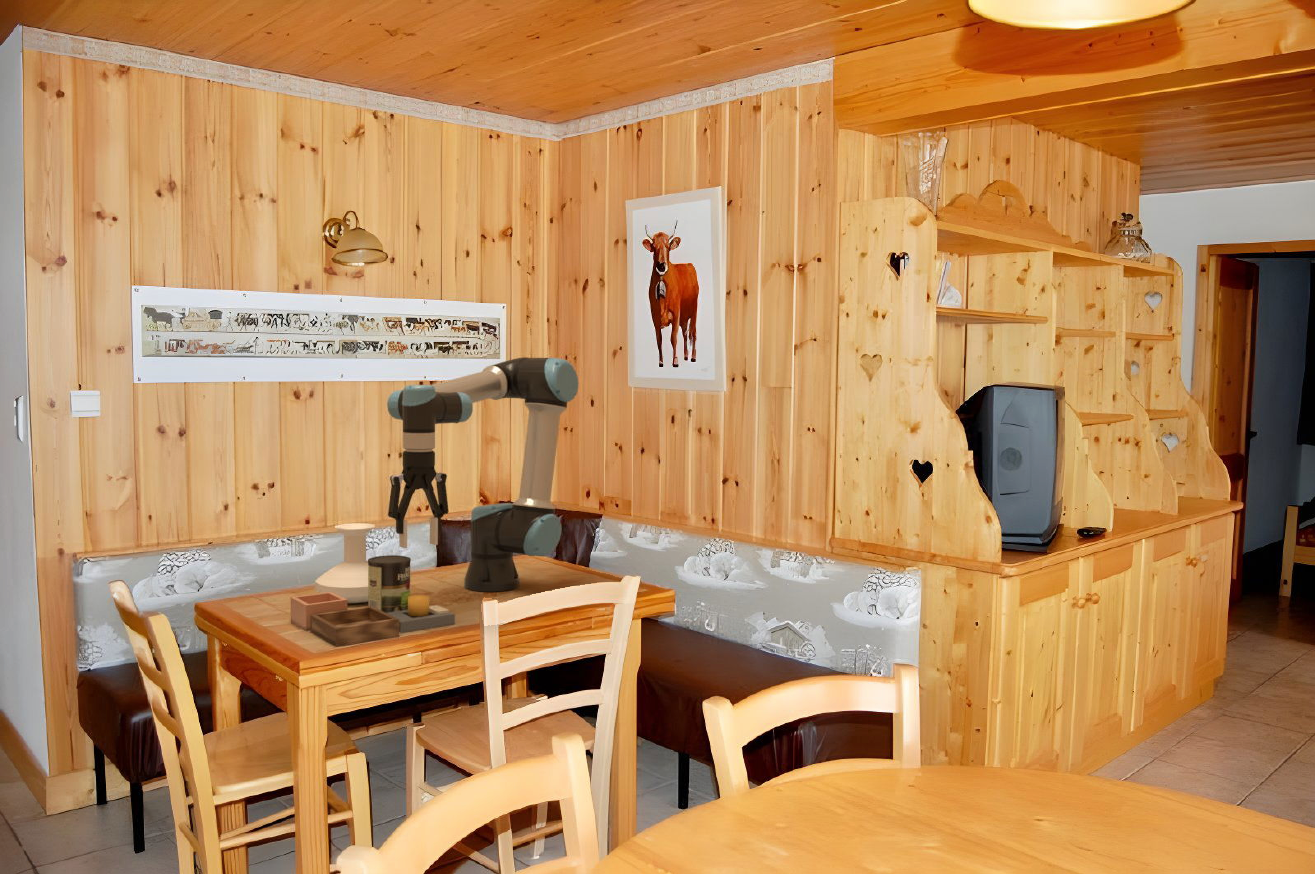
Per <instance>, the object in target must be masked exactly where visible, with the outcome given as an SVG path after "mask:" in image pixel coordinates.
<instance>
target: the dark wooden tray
mask: <svg viewBox="0 0 1315 874" xmlns="http://www.w3.org/2000/svg"><path fill="white" fill-rule="evenodd" d="M310 619H311V630H310V633H312V634H313V635H315V636H317V637H318V638H320V639H322V640H324V641H325V642H327V643H329V644H330V645H333V646H334V647H341V646H348V645H354V644H361V643H366V642H372V641H378V640H384V639H390V638H392V639H393V638H397V637H400V632H399V619H398V618H396V617H394V616H392V615H389V614H387V613H385V612H383V611H381V610H379V609H377V608H375V607H373V606H369V607H368V606H364V607H357V608H349V609H348V608H347V610H341V611H334V612H327V613H320V614H313V615H310Z"/></svg>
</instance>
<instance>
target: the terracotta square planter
mask: <svg viewBox="0 0 1315 874" xmlns="http://www.w3.org/2000/svg"><path fill="white" fill-rule="evenodd" d="M341 610H348V603H347V599H345V598H343V597H341V596H339V595H337V594H335V593H333V592H326V593H318V592H317V593H312V594H303V595H299V596H291V597H290V622H291V623H292V624H294V625H295V626H297V627H298V628H301V629H302V630H304V631H307V632H308V631H311V619H310V615H313V614H320V613H327V612H334V611H341Z"/></svg>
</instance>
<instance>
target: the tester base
mask: <svg viewBox="0 0 1315 874" xmlns="http://www.w3.org/2000/svg"><path fill="white" fill-rule="evenodd" d="M387 614H389V615H392V616H394V617H396V618H398V619H399V634H403V633H407V632H414V631H420V630H426V629H435V628H440V627H446V626H451V625H455V622H456V619H455V618H456V614H455V613H454V612H451V611H450V610H449V609H448V608H445V607H443V606H440V605H438V604H435V605H429V614H428V615H425V616H410V615H408V610H403V611H396V612H389V613H387Z"/></svg>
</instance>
